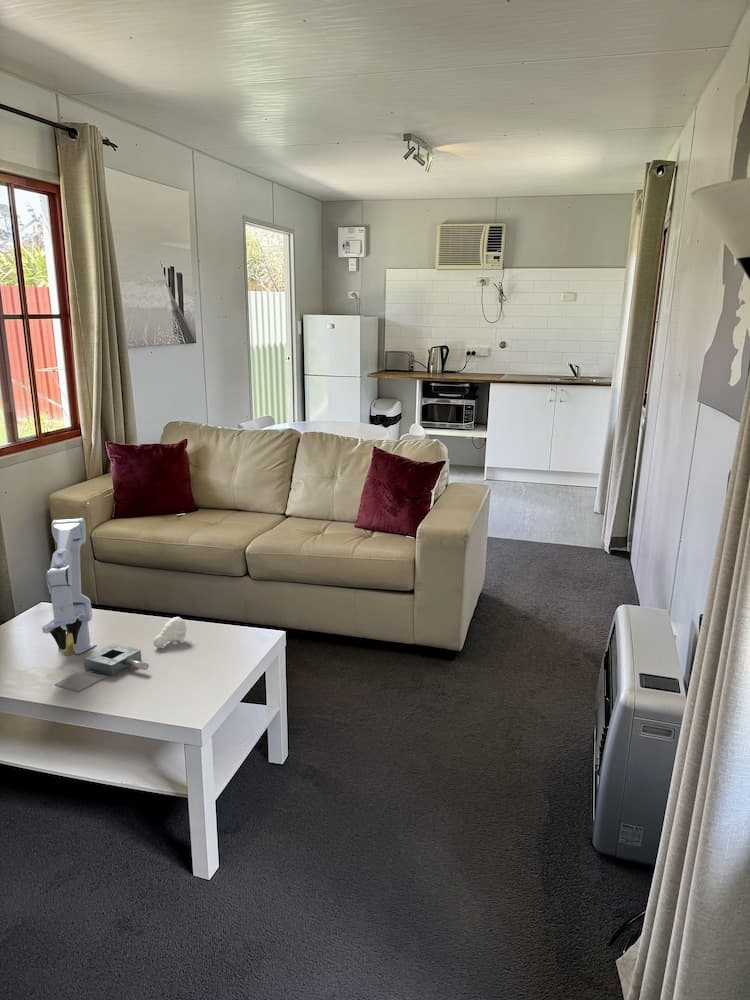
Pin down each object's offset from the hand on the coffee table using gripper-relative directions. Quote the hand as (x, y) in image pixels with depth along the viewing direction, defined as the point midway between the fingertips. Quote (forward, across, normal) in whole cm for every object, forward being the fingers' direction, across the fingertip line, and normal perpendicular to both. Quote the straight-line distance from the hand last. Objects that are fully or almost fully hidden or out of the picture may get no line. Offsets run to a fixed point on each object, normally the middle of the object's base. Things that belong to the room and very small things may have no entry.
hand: (67, 646), depth 216 cm
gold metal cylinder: (+2, 0, 0) cm, 2 cm away
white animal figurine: (+8, +28, -15) cm, 33 cm away
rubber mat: (+8, -4, -9) cm, 13 cm away
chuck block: (+8, +8, -14) cm, 18 cm away
